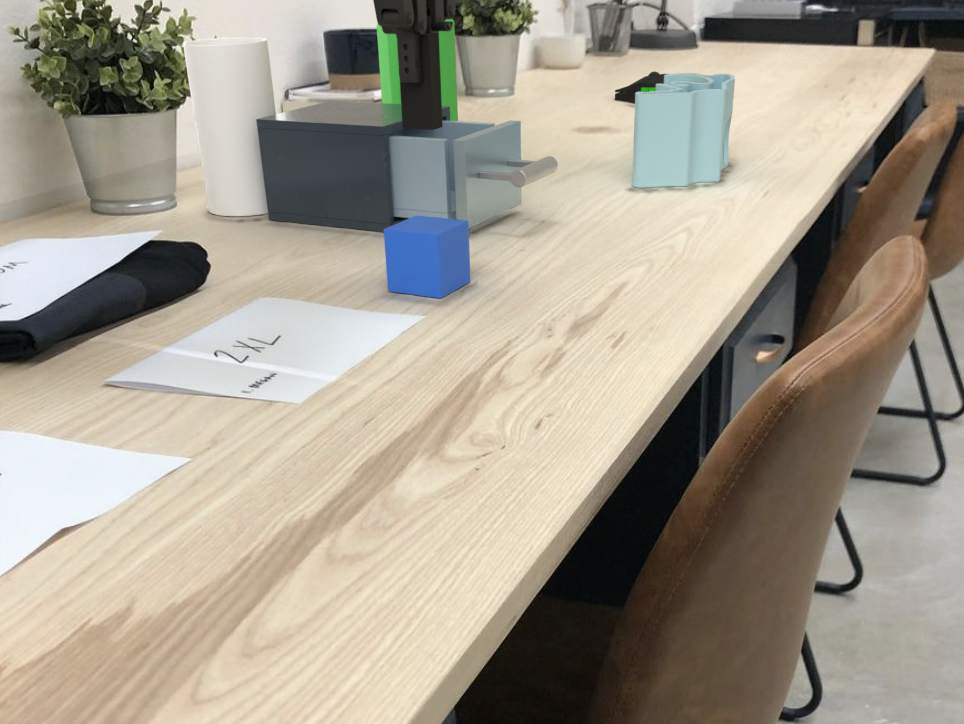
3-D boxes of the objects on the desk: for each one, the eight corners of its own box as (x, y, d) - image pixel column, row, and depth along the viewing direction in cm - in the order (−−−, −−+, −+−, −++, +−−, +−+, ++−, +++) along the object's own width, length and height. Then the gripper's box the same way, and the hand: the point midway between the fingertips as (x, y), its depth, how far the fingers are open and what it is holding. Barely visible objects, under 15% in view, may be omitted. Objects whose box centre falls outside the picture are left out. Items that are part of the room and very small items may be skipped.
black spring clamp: (680, 110, 166) (682, 81, 164) (600, 100, 177) (601, 73, 175) (728, 101, 172) (730, 73, 170) (648, 92, 183) (649, 65, 181)
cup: (239, 196, 123) (217, 36, 115) (301, 202, 120) (283, 37, 112) (192, 213, 117) (165, 44, 108) (256, 219, 113) (233, 46, 105)
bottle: (473, 164, 135) (466, -75, 122) (432, 177, 129) (419, -73, 116) (415, 158, 139) (401, -73, 126) (372, 171, 133) (353, -71, 120)
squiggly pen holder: (722, 189, 119) (729, 94, 114) (630, 187, 121) (633, 94, 116) (730, 157, 134) (736, 72, 129) (648, 156, 136) (651, 73, 131)
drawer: (567, 207, 110) (567, 123, 106) (515, 234, 101) (514, 143, 97) (407, 193, 118) (402, 114, 114) (347, 217, 109) (339, 132, 105)
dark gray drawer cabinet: (454, 205, 116) (450, 106, 111) (390, 232, 107) (382, 126, 102) (338, 194, 122) (329, 100, 118) (268, 220, 113) (255, 119, 108)
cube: (387, 291, 90) (383, 229, 88) (419, 275, 94) (415, 215, 91) (441, 298, 88) (437, 234, 86) (471, 282, 92) (468, 220, 89)
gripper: (405, -241, 80) (422, 112, 92) (299, -259, 70) (334, 138, 82) (498, -249, 77) (503, 117, 89) (401, -270, 67) (422, 144, 79)
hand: (422, 127), depth 85 cm, fingers closed
